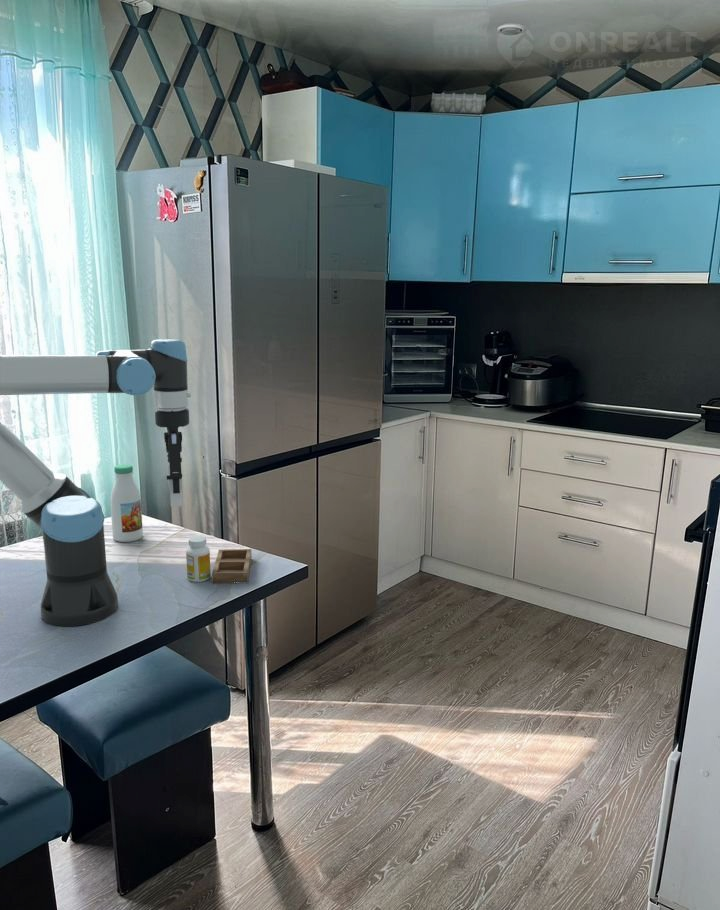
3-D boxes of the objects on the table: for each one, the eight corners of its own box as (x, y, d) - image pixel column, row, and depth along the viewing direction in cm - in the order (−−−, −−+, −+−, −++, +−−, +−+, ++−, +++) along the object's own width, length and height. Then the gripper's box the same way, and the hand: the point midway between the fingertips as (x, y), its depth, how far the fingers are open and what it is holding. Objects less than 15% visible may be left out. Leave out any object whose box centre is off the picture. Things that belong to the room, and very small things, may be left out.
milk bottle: (111, 543, 190) (106, 470, 185) (114, 533, 197) (109, 462, 193) (141, 541, 191) (137, 469, 187) (144, 532, 199) (139, 461, 194)
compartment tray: (247, 582, 167) (247, 572, 166) (212, 583, 166) (212, 573, 165) (251, 558, 181) (251, 549, 181) (219, 559, 181) (218, 549, 180)
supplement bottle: (212, 573, 172) (211, 534, 170) (208, 582, 167) (207, 542, 164) (189, 573, 172) (188, 534, 169) (185, 582, 166) (183, 542, 164)
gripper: (191, 417, 154) (195, 512, 159) (186, 399, 177) (189, 482, 182) (155, 418, 152) (160, 515, 157) (154, 399, 175) (158, 484, 180)
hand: (175, 497), depth 169 cm, fingers open, 13 cm apart
